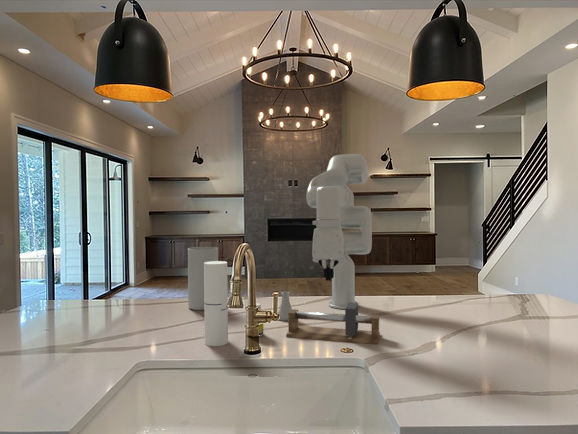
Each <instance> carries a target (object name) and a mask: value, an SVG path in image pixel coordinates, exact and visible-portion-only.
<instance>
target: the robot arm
mask: <svg viewBox="0 0 578 434" xmlns="http://www.w3.org/2000/svg"><path fill="white" fill-rule="evenodd" d="M368 180H369V168H368V163H367V160H366V159H365V157H364V155H362V154H360V153H351V154H350V153H346V154H344V153H343V154H337V155H333V156H332V157H331V158H330V159H329V162H328V165H327V168H326V171H324V172H322V173H320V174H319V175H317V176H315V177H313V178H312V179H311V181H310V182H309V184H308V188H307V190H306V194H305V195H306V196H305V199H306V203H307V205H308V206H309V207H310V208H311V209H316V219H315V220H312V225H313V226H316V228H314V229H313V236H312V244H311V245H312V248H311V250H312V252H311V256H312V262H314V263H317V264H319V265H320V266H321V267H322V268H323V277H324V279H325V281H327V282H328V281H329V282H331V288H332V289H331V294H332V295H331V298H332V299H331V300H330V301H329V302H328V306H329V307H330V308H334V309H339V310H340V309H341V310H345V308H346V307H347V305H348V303H358V304H359V302H357V301H356V299H355V298H356V294H355V293H356V292H355V291H356V290H355V288H356V284H355V282H356V281H355V279H356V278H355V274H356V273H355V268H356V267H355V263H354V260H353V259H352V258H351V257H350V256H349V255H368V254H370V253H371V251H372V247H373V246H372V245H373V238H372V237H373V233H372V232H373V225H372V223H373V221H372V219H373V218H372V212H371V209H370V208H369V207H368V206H364V205H355V197H354V192H353V191H352V190H351V189H350V187H349V186H348V185H362V184H365V183H367V182H368ZM343 229H359V230H360V231H345V230H344V231H343ZM329 260H330V263H329V265H328V261H329Z"/></svg>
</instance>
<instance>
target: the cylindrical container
mask: <svg viewBox="0 0 578 434" xmlns="http://www.w3.org/2000/svg"><path fill="white" fill-rule="evenodd" d="M228 290H229V289H228V262H227V261H224V260H218V261H211V262H205V263H204V302H205V303H204V307H205V310H204V344H205V345H206V346H208V347H221V346H224V345H227V344H228V343H229V308H227V307H226V306H227V302H228V303H229V301H228V300H229V299H228V296H229V293H228V292H229V291H228Z"/></svg>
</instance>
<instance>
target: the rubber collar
mask: <svg viewBox="0 0 578 434" xmlns="http://www.w3.org/2000/svg"><path fill="white" fill-rule="evenodd" d="M344 310H345V312H344V314H345V322H344V324H345V327H344V329H345V335H350V336H355V335H356V332H357V330H359V323H356V315H359V302H358V303H348V305H347V307H346V308H345V309H344Z"/></svg>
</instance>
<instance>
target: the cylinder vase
mask: <svg viewBox="0 0 578 434" xmlns="http://www.w3.org/2000/svg"><path fill="white" fill-rule="evenodd" d="M211 261H219V247H216V246H214V247H213V246H198V247H197V246H196V247H188V248H187V293H188V294H187V297H188V299H187V300H188V303H187V305H188V308H189V309H190V310H193V311H205V307H204V303H205V302H204V263H205V262H211Z"/></svg>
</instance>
